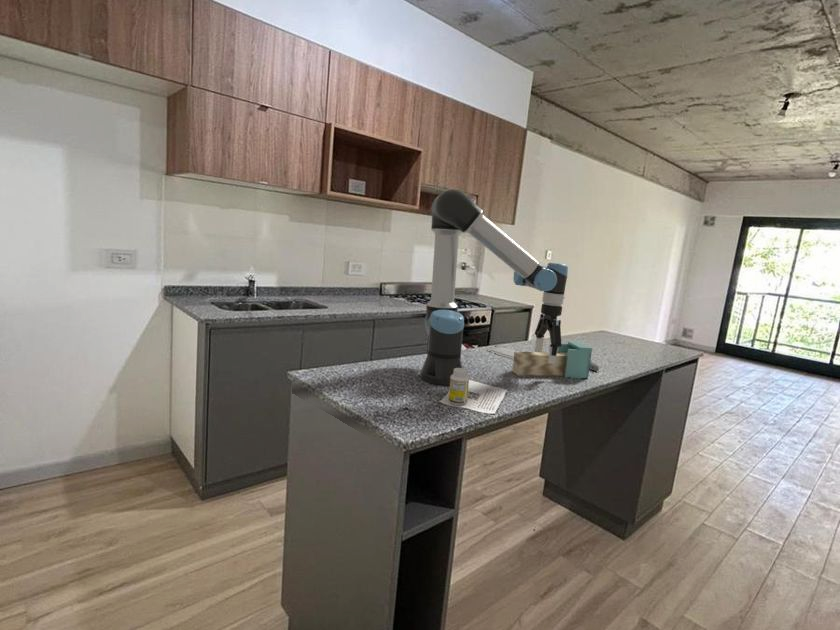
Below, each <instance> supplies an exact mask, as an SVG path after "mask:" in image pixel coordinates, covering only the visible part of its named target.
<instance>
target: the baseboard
mask: <svg viewBox="0 0 840 630" xmlns="http://www.w3.org/2000/svg"><path fill="white" fill-rule="evenodd" d="M495 347H496V348H495ZM487 351H492V352H495V353H497V354H499V355H498V356H501V355H502V356H501V357H504V356H505V357H504V358H507V357H508V358H507V359H510V358H511V360H513V359H514V352H518V351H517V350H514V349H510V348H506V347H502V346H498V345H494V347H493V346H492V347H490V348H489V349H486V352H487ZM497 354H496V355H497Z"/></svg>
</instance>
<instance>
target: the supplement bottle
mask: <svg viewBox="0 0 840 630" xmlns="http://www.w3.org/2000/svg"><path fill="white" fill-rule="evenodd" d="M469 380H470V377H469V376H468V370H467V369H466V368H455V369H454V372H453V374H452V375H451V377H450V385H449V388H448V389H449V390H448V402H449V403H450V404H452V405H454V404H455V405H456V406H464V405H466V404H467V402H468V394H469V386H470V385H469V384H470V383H469V382H470V381H469Z"/></svg>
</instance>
